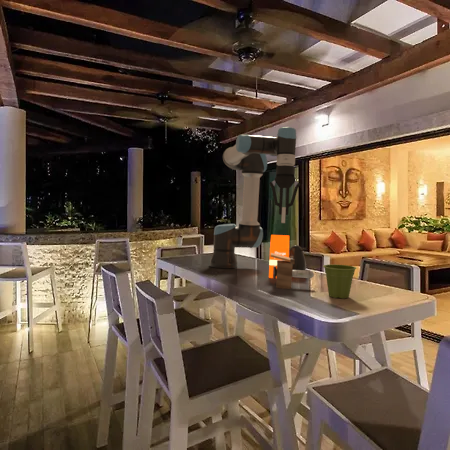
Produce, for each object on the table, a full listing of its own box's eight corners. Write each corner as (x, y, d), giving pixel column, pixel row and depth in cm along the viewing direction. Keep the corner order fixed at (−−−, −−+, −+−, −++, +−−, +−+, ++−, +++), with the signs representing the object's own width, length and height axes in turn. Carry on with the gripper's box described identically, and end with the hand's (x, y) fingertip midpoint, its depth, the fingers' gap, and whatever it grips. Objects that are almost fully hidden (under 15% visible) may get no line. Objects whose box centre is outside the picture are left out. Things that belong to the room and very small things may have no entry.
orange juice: (287, 279, 166) (289, 236, 165) (268, 277, 168) (270, 235, 167) (288, 276, 174) (289, 235, 173) (269, 275, 175) (271, 234, 175)
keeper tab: (270, 254, 154) (271, 252, 154) (292, 260, 153) (293, 258, 153) (270, 257, 146) (270, 254, 146) (293, 263, 145) (294, 260, 145)
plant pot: (329, 291, 142) (330, 263, 142) (359, 296, 135) (361, 266, 134) (316, 296, 133) (317, 266, 133) (348, 302, 125) (349, 270, 125)
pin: (273, 277, 153) (273, 265, 152) (313, 279, 150) (313, 267, 150) (272, 279, 148) (273, 267, 147) (314, 282, 145) (314, 269, 145)
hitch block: (276, 283, 155) (277, 255, 155) (292, 284, 154) (293, 256, 154) (276, 288, 145) (277, 258, 144) (293, 289, 144) (294, 259, 143)
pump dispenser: (300, 279, 167) (301, 246, 167) (280, 276, 173) (281, 244, 173) (309, 276, 175) (310, 245, 175) (290, 273, 182) (291, 243, 181)
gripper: (269, 164, 145) (267, 222, 146) (302, 164, 143) (299, 223, 144) (269, 166, 153) (267, 222, 154) (301, 167, 151) (298, 223, 152)
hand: (283, 222), depth 149 cm, fingers closed
